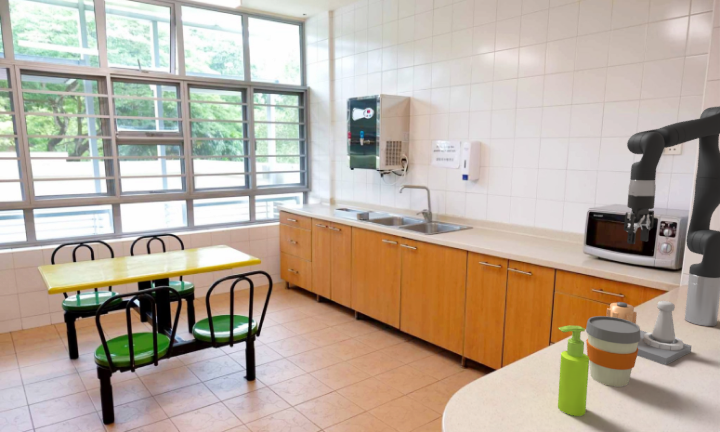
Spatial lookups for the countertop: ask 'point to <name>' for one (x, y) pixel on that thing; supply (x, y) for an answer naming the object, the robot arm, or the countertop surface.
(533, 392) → the countertop surface
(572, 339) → the soap dispenser
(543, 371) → the countertop surface
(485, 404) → the countertop surface
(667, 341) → the salt shaker
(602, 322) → the reusable coffee cup
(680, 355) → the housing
